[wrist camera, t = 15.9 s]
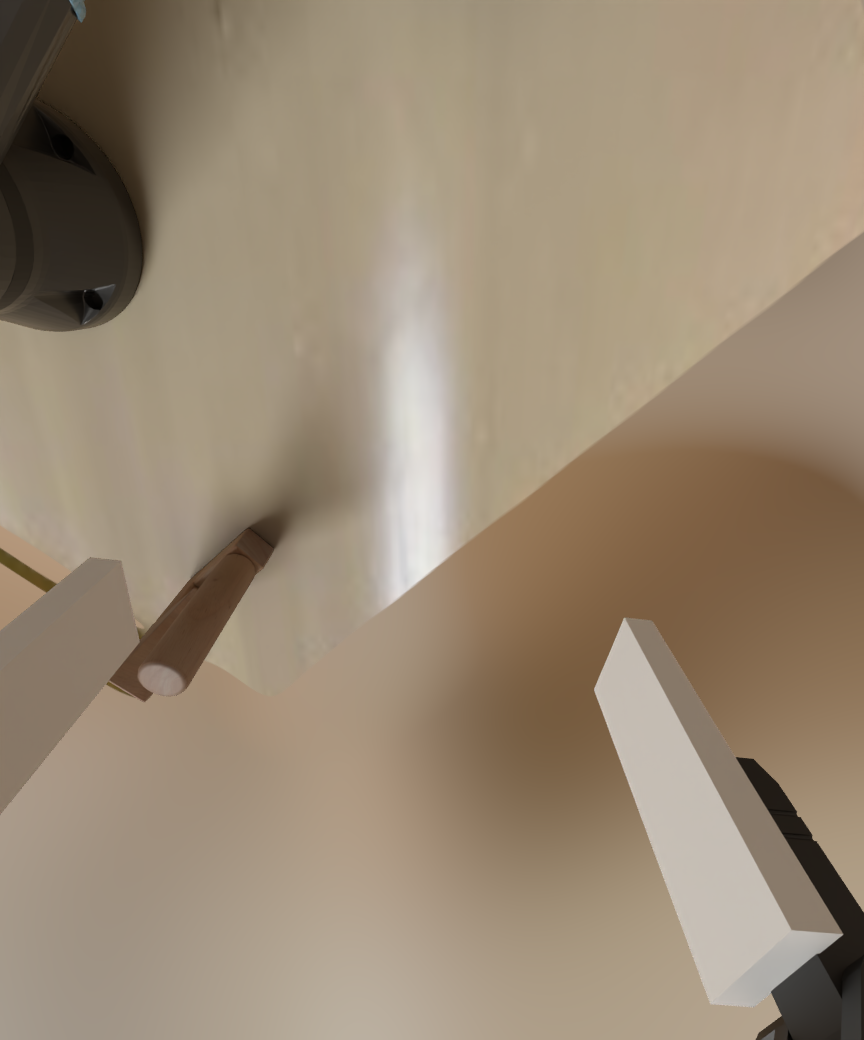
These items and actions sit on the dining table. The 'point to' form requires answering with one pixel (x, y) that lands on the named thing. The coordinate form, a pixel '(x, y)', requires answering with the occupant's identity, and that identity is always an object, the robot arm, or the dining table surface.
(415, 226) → the dining table surface
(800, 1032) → the robot arm
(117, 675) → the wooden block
